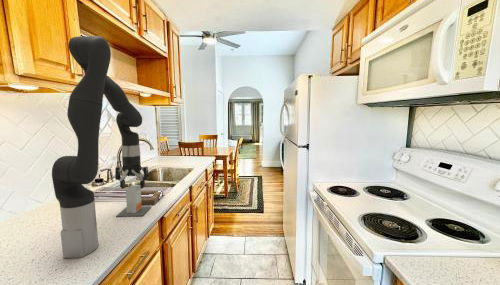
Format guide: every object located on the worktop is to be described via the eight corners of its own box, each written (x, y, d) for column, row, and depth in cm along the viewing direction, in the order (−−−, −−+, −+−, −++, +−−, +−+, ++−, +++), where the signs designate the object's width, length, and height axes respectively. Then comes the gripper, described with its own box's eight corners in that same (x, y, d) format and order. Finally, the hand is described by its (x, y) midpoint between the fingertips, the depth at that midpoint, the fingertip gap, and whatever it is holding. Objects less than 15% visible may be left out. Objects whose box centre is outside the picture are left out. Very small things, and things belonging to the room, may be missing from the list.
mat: (143, 216, 100) (143, 215, 100) (116, 217, 99) (116, 215, 99) (151, 207, 110) (151, 206, 110) (126, 207, 109) (126, 206, 109)
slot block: (154, 205, 112) (153, 199, 112) (127, 205, 111) (127, 200, 111) (162, 195, 126) (162, 190, 125) (138, 195, 124) (138, 190, 124)
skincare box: (136, 213, 101) (134, 189, 100) (126, 213, 101) (125, 189, 100) (142, 208, 107) (140, 184, 106) (133, 208, 107) (132, 184, 106)
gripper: (110, 156, 97) (112, 191, 98) (143, 156, 98) (145, 190, 100) (119, 153, 104) (121, 185, 106) (150, 153, 105) (151, 185, 107)
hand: (132, 188), depth 103 cm, fingers open, 8 cm apart
